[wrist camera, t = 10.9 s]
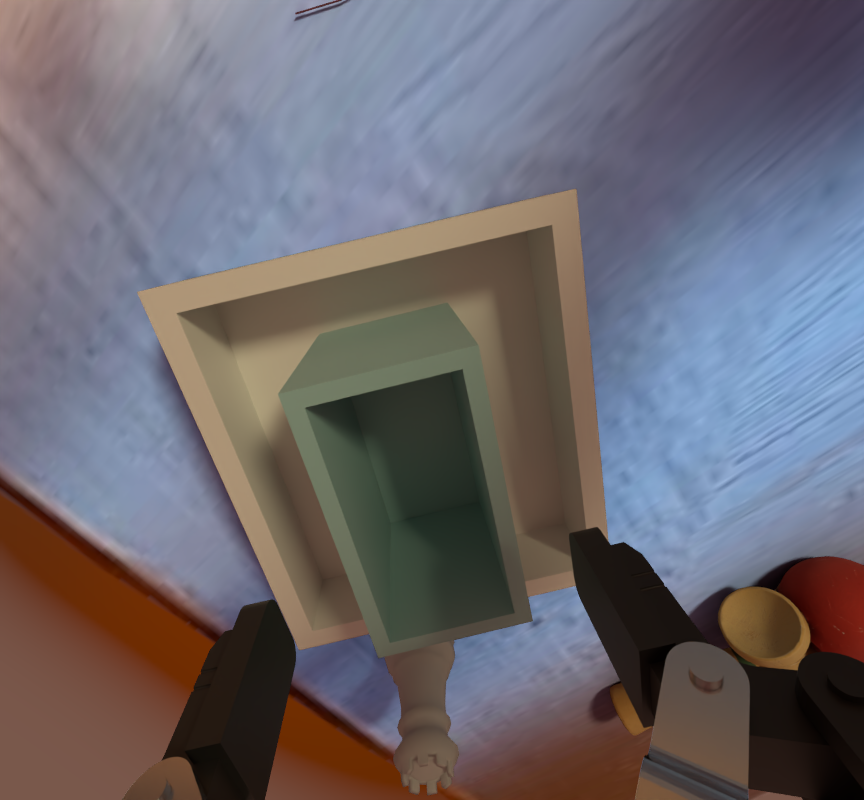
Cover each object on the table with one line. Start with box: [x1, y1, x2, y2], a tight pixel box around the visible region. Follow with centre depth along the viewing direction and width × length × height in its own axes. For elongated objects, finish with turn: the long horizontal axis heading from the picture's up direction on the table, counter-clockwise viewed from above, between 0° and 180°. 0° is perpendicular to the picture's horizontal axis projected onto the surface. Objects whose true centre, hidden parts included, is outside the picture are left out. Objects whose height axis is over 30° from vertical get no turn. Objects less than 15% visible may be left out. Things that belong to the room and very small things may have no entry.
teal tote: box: [278, 303, 533, 658], centre depth 19 cm, size 11×6×8 cm, turn 13°
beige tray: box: [137, 189, 608, 650], centre depth 21 cm, size 18×16×4 cm
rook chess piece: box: [385, 640, 459, 795], centre depth 25 cm, size 4×4×8 cm
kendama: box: [610, 556, 864, 735], centre depth 29 cm, size 8×6×18 cm
